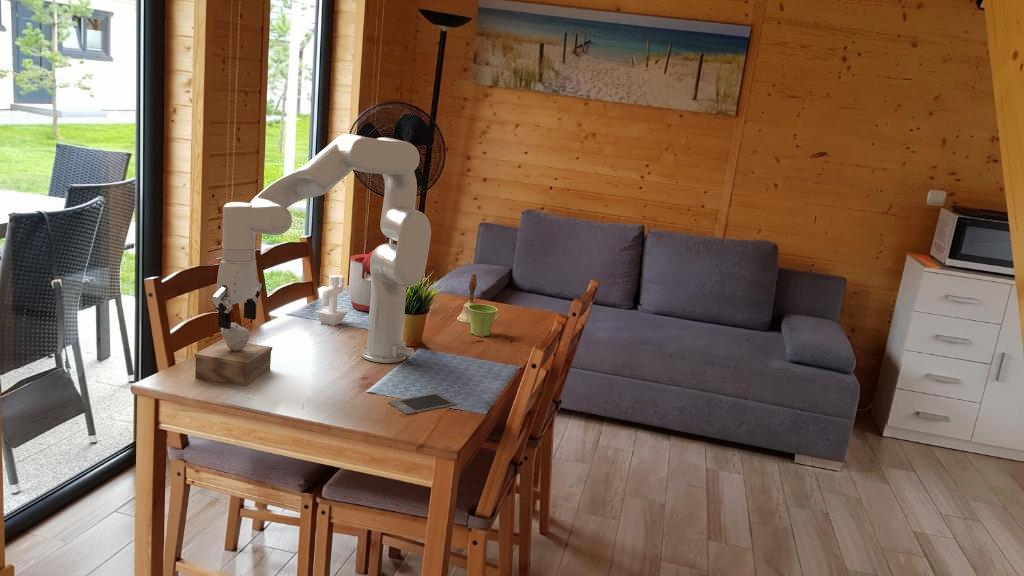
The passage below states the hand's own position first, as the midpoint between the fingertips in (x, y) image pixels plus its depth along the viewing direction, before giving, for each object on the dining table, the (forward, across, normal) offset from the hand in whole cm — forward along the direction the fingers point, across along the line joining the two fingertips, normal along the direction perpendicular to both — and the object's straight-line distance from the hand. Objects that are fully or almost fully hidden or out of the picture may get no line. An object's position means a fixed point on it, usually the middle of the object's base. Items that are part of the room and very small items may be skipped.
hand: (237, 323), depth 199 cm
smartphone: (+14, -8, +47) cm, 49 cm away
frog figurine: (+7, 0, 0) cm, 7 cm away
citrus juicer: (+14, -76, -4) cm, 78 cm away
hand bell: (+15, -86, +28) cm, 92 cm away
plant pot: (+15, -73, +37) cm, 83 cm away
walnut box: (+13, +1, 0) cm, 13 cm away
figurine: (+14, -53, -5) cm, 55 cm away
